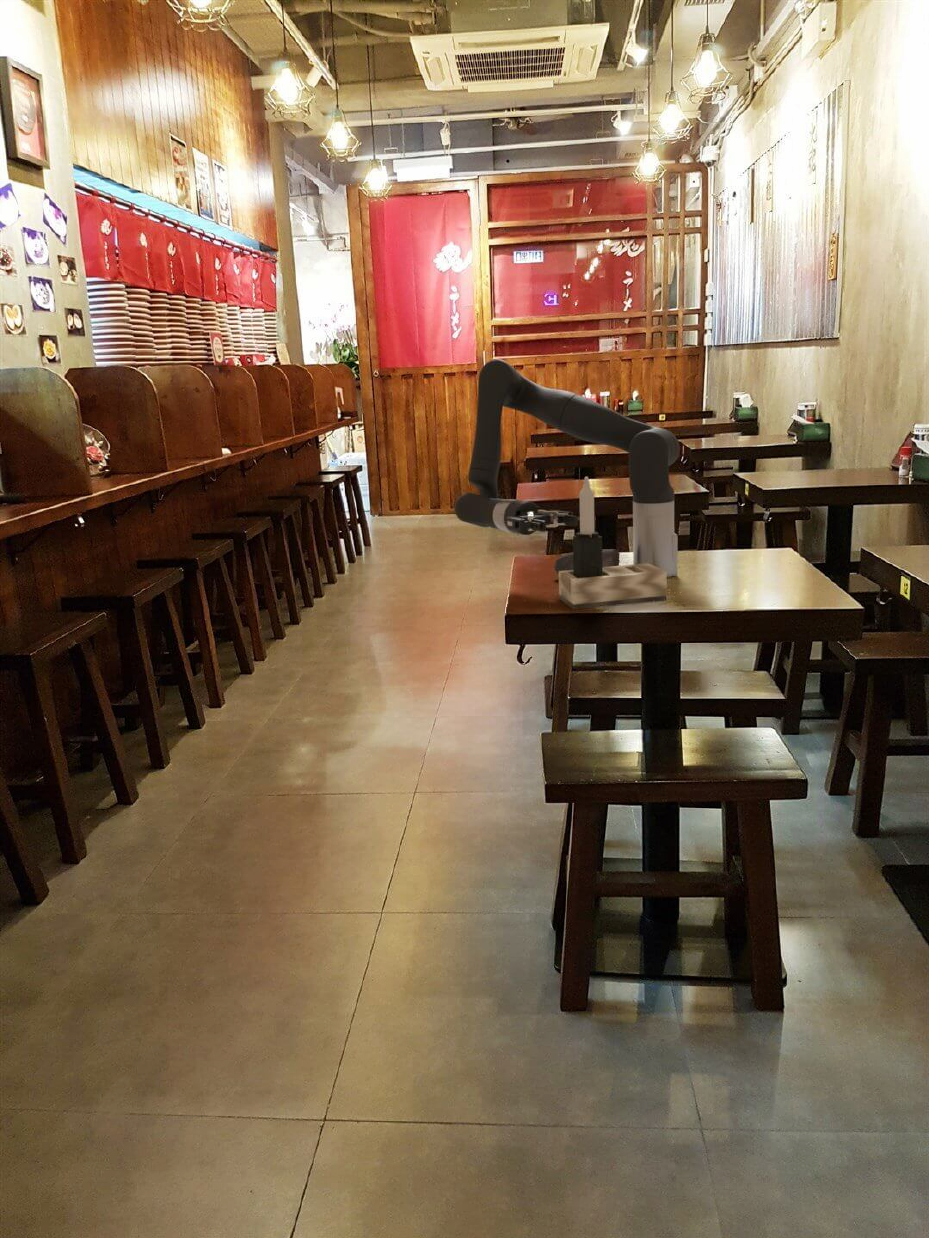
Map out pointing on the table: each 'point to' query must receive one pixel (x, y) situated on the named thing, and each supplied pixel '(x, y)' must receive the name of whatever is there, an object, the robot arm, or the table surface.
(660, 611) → the table surface
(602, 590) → the stand
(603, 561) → the perforated stone tool
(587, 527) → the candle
